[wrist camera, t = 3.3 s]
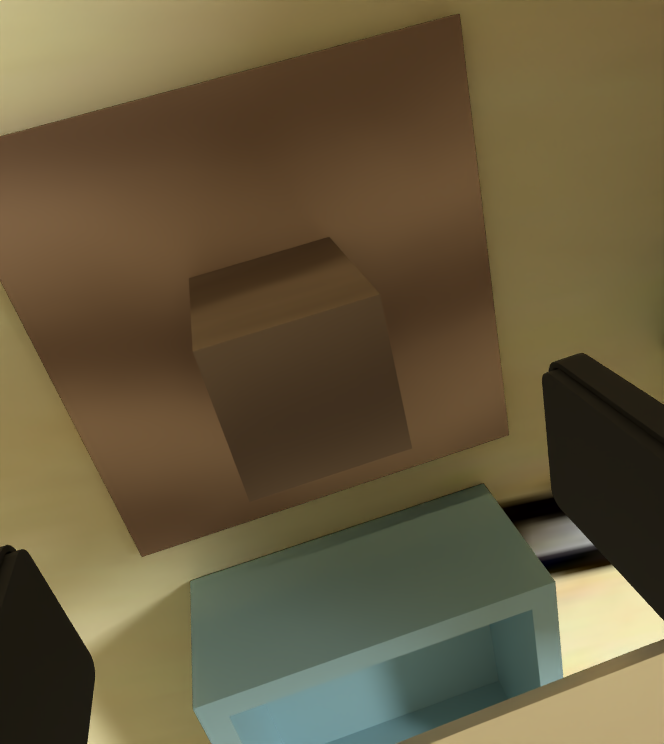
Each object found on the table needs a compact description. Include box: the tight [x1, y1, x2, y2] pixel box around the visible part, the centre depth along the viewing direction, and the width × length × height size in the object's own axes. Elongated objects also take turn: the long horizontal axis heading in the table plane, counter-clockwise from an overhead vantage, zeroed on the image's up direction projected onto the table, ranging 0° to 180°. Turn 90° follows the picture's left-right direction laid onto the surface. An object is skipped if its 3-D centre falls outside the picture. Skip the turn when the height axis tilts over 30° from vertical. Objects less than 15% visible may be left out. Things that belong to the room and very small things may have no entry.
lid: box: [0, 14, 509, 557], centre depth 16 cm, size 13×13×6 cm
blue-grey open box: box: [190, 483, 563, 744], centre depth 23 cm, size 11×11×5 cm
